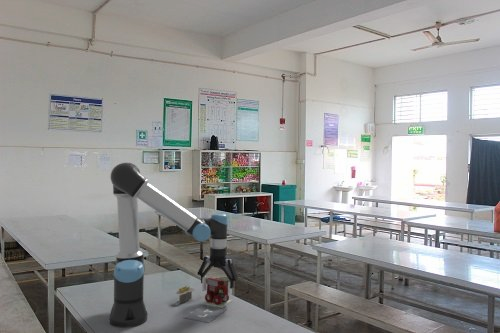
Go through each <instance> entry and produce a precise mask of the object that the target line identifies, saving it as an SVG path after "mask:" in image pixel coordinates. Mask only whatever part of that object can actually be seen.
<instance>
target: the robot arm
mask: <svg viewBox="0 0 500 333" xmlns="http://www.w3.org/2000/svg"><path fill="white" fill-rule="evenodd" d="M110 181H111V184H112V191H113V192H112V194H113V195H114V196H115V197H116V199H117V200H116V202H117V224H118V225H117V226H118V243H119V244H118V245H119V247H118V248H119V252H117V254H116V256H115V258H116V259H115V260H116V264H115V266H114V270H113V278H114V279H113V304H112V307H111V310H110V314H109V316H108V323H109V324H110V325H111V326H113V327H118V328H130V327H136V326H139V325H142V324H143V323H145V322H147V320H148V311H147V309H146V305H145V301H144V283H145V282H144V278H145V277H144V275H145V272H146V271H145V270H146V268H145V262H144V260H145V258H144V257H145V256H144V252H143V251H142V250H141V248H140V247H141V246H140V230H139V229H140V226H139V225H140V224H139V204H138V202H139V200H140V201H141V202H143V203H144V204H146V206H148V207H150V208H152V209H153V210H154V211H155V212H157V213H159V214H160V215H161V216H163V217H164V218H166V219H167V220H168V221H170V222H171V223H173V224H174V225H176V226H177V227H179V229H182V230H183V231H184V232H185V235H186V236H187V235H188V236H191V237H192V238H194V239H195V241H197V242H202V243H203V242H206V241H207V240H209V239H210V245H209V246H210V249H209V250H210V252H209V255H205V256H204V257H203V261H202V263H201V265H200V267H199V269H198V271H197V275H198V276H200V284H201V290H202V292H204V291H207V283H206V281H207V278H208V277H207V274H208V273H209V272H210V270H211V269H212V268H218V269H221V270H222V271H223V272H224V274H225V275H226V277H227V278H228V281H227V282H228V283H227V289H228V296H229V297H230V296H231V295H233V288H234V287H235V281H237V280H239V277H238V274H237V272H236V268H235V266H234V264H233V259H232V258H229V259H228V258H227V243H228V241H227V240H228V239H227V238H228V215H226V214H224V213H213V214H211V217H209V218H206V217H205V218H198V217H197V216H196V215H194V214H193V213H191V212H190V211H188V210H187V209H186V208H185V207H183V206H181V205H180V204H178V203H177V202H176V201H175V200H173V199H171V198H170V197H169V196H167V195H166V194H164V193H163V192H161V191H160V189H157V187H155V186H153V185H152V184H151V183H149V180H148V178H147V177H145V176H144V175H142V173H141V172H140V169H139V168H138V167H137V165H135V164H133V163H131V162H121V163H119V164H117V165H116V166H114V167H113V168H112V170H111V172H110ZM209 261H210V263H209V264H208V262H209ZM207 265H208V266H207ZM206 266H207V267H206Z"/></svg>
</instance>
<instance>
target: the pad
mask: <svg viewBox="0 0 500 333" xmlns="http://www.w3.org/2000/svg"><path fill="white" fill-rule="evenodd" d="M232 302H233V300H232V299H229V300H228V301H225V302H224V301H222V303H221V304H219V305H216V304H215V303H214V299H213V301H212V302H207V301H206V300H205V301H204V302H203V303H202V305H204V306H210V307H215V308H221V309H224V307H226V306H227V305H228V304H230V303H232Z"/></svg>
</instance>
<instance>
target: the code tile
mask: <svg viewBox="0 0 500 333" xmlns="http://www.w3.org/2000/svg"><path fill="white" fill-rule="evenodd" d="M226 311H227V309H225V308H220V307H215V306H209V305H204V304H202V305H201V306H200V307H198V308H197V309H195V310H193V311H192V312H190V313H188V314H186V316H184V317H183V319H187V320H192V321H197V322H202V323H207V324H209V323H211V322H212V321H213V320H214V319H215V320H216V318H218V317H219V316H220V315H222V314H223V313H224V312H226Z"/></svg>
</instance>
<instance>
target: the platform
mask: <svg viewBox="0 0 500 333" xmlns="http://www.w3.org/2000/svg"><path fill="white" fill-rule="evenodd" d="M193 291H195V288H193V287H190V286H189V285H185V286H183V287H179V288H178V291H176V292H175V294H176V295H177V296H179V303H180V304H181V303H184V302H186V301H189V300H192V296H193V295H192V292H193Z"/></svg>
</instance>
